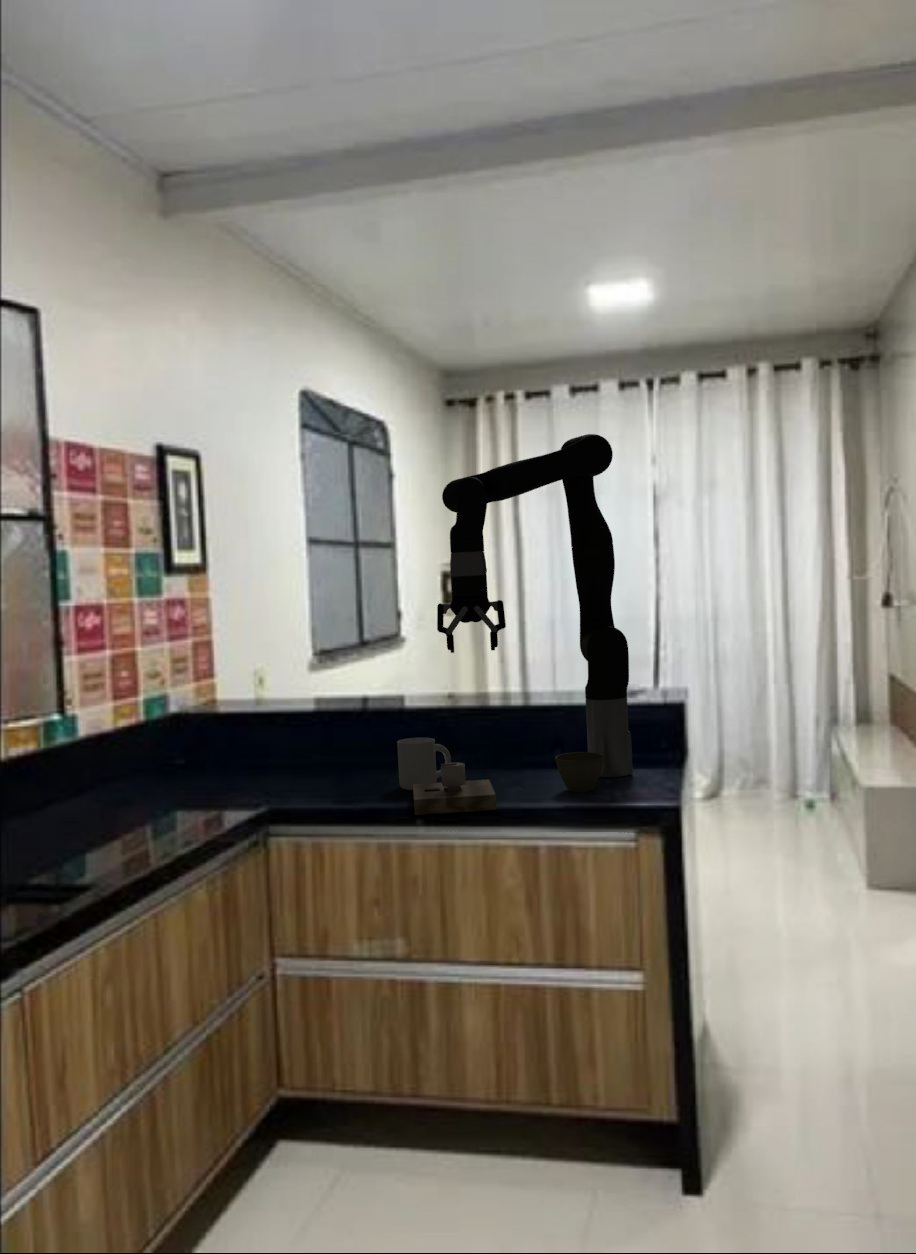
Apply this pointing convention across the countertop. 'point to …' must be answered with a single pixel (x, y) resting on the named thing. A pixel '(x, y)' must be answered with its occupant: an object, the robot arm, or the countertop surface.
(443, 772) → the knob
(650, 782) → the countertop surface
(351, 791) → the countertop surface
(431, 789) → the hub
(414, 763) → the mug
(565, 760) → the yellowish brown bowl
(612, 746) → the robot arm
